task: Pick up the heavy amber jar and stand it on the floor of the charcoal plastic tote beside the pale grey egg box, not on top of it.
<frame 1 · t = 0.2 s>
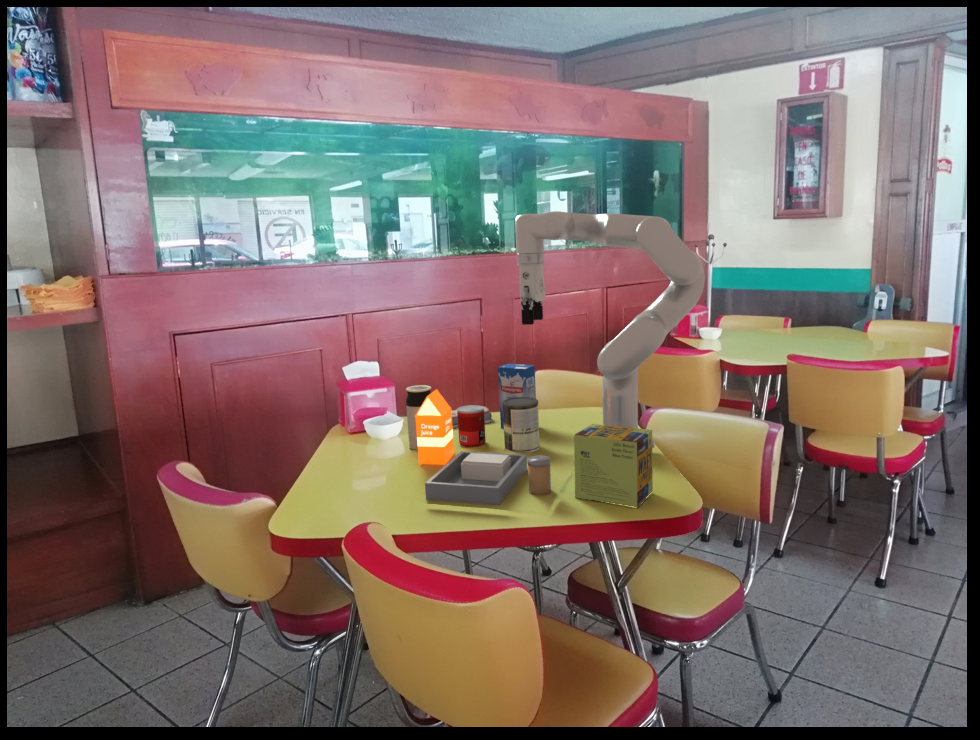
hand: (532, 322, 192), 37 cm above the table, tool pointing down, fingers open, 9 cm apart
coffee can: (522, 449, 199), on the table
travel mug: (422, 447, 206), on the table
canned food: (472, 444, 206), on the table
orange juice: (437, 463, 191), on the table
protein box: (614, 496, 160), on the table
egg box: (486, 475, 175), point 1 cm above the table, touching tote
tote: (479, 487, 170), on the table
milk carton: (518, 428, 221), on the table
packaged product: (464, 424, 230), on the table
amber jar: (540, 495, 163), on the table
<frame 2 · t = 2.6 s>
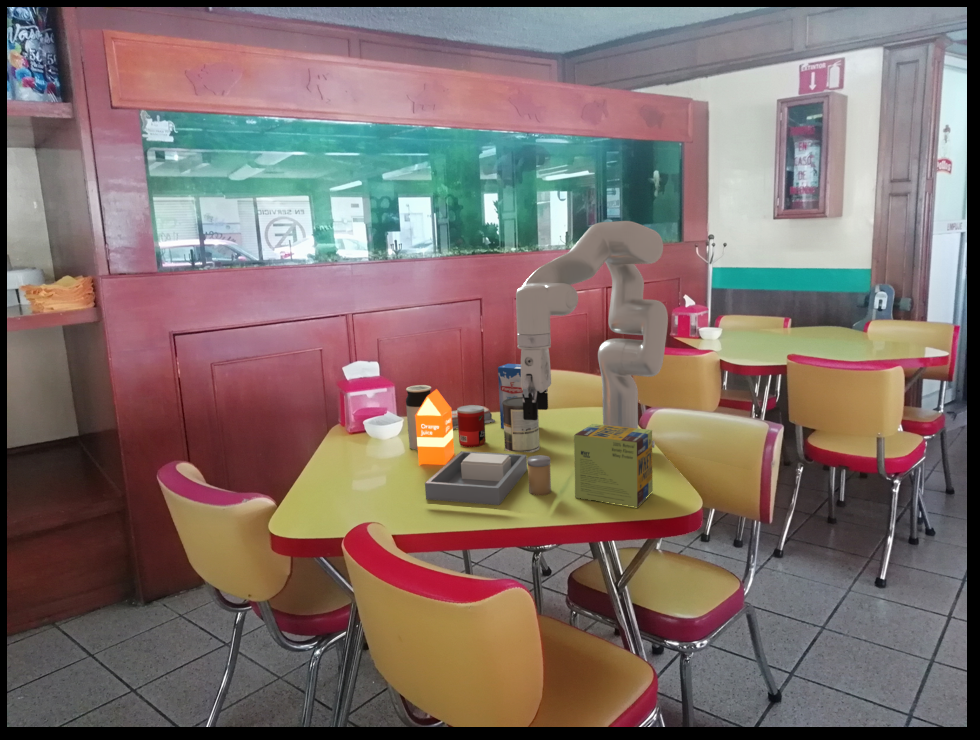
hand: (536, 414, 159), 20 cm above the table, tool pointing down, fingers open, 9 cm apart
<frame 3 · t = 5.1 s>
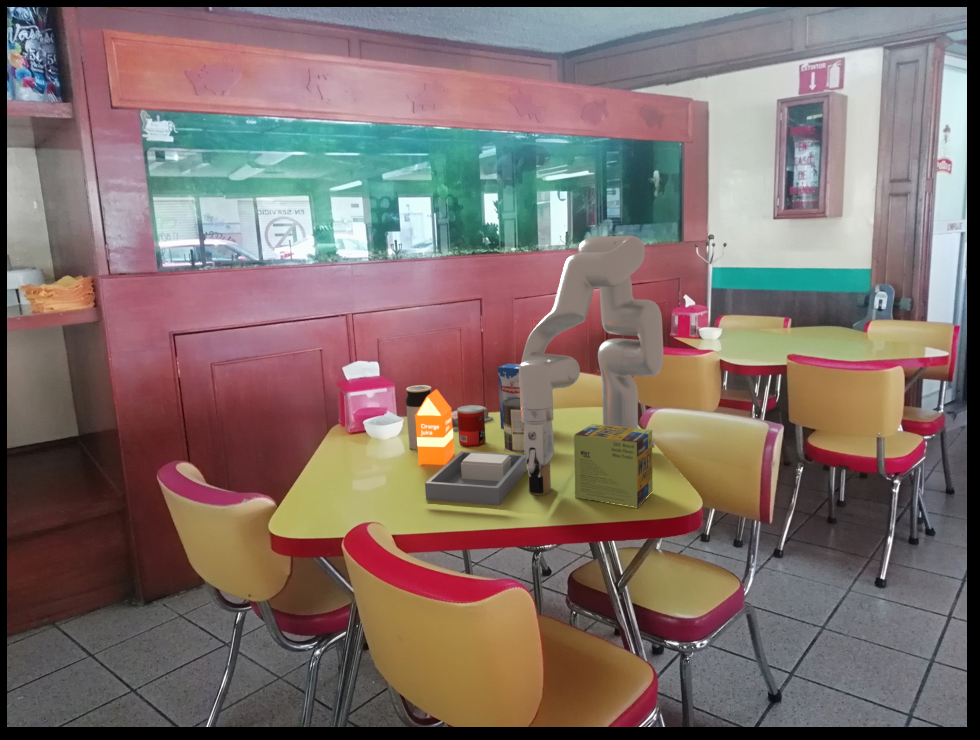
hand: (539, 487, 163), 2 cm above the table, tool pointing down, fingers closed on amber jar, 5 cm apart
amber jar: (540, 495, 163), on the table, touching gripper
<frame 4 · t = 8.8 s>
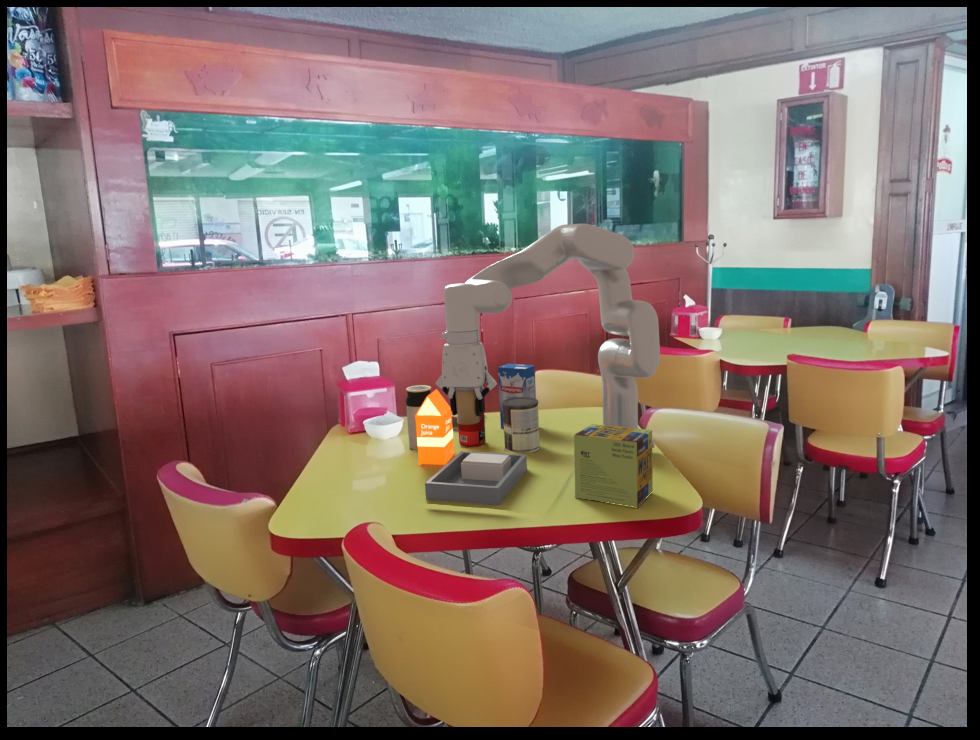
hand: (467, 413, 161), 20 cm above the table, tool pointing down, fingers closed on amber jar, 5 cm apart
amber jar: (468, 421, 162), point 18 cm above the table, touching gripper
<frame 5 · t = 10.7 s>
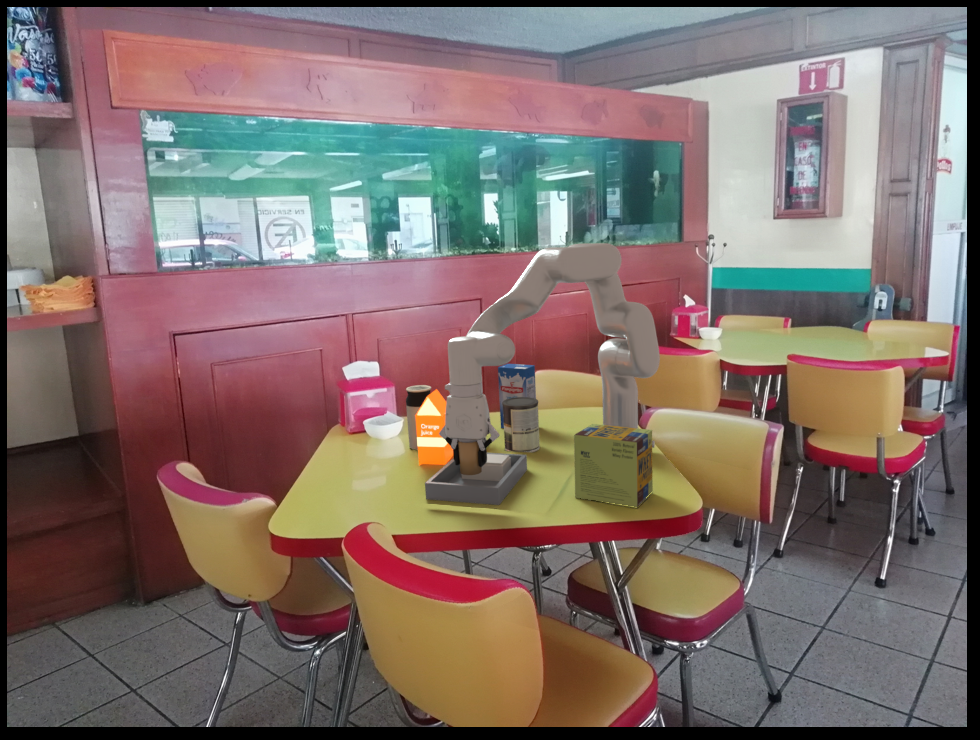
hand: (470, 463, 164), 8 cm above the table, tool pointing down, fingers closed on amber jar, 5 cm apart
amber jar: (471, 471, 164), point 6 cm above the table, touching gripper
when the fingers open (4 cm above the table, at t = 12.4 s): amber jar drops 1 cm, resting on tote.
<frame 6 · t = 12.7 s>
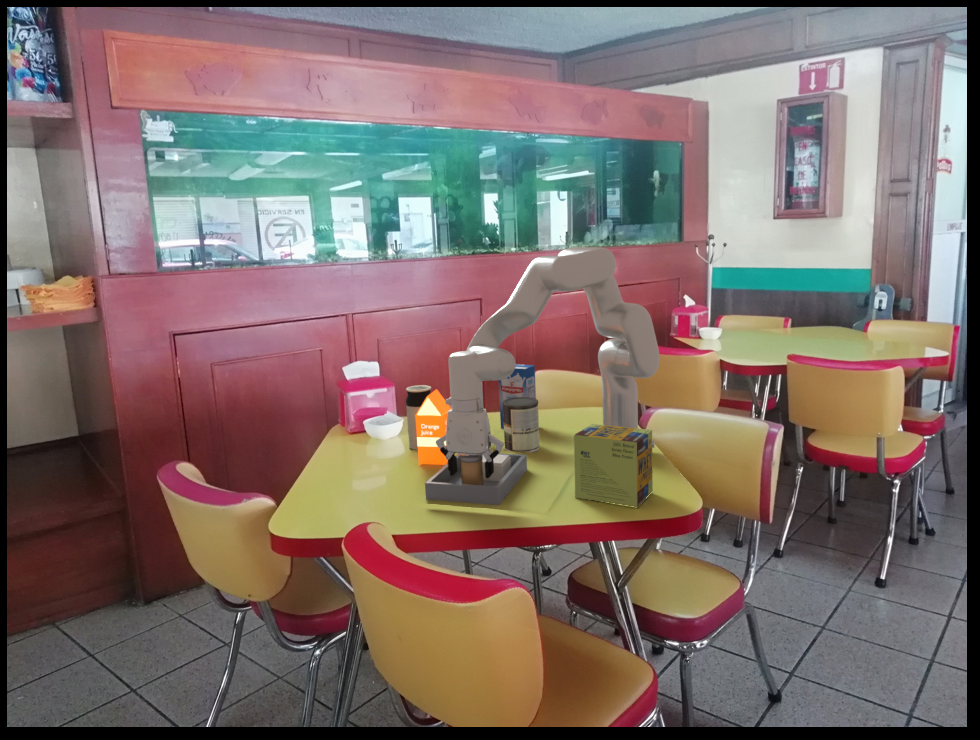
hand: (471, 474, 164), 5 cm above the table, tool pointing down, fingers open, 8 cm apart
amber jar: (473, 490, 165), point 1 cm above the table, touching tote
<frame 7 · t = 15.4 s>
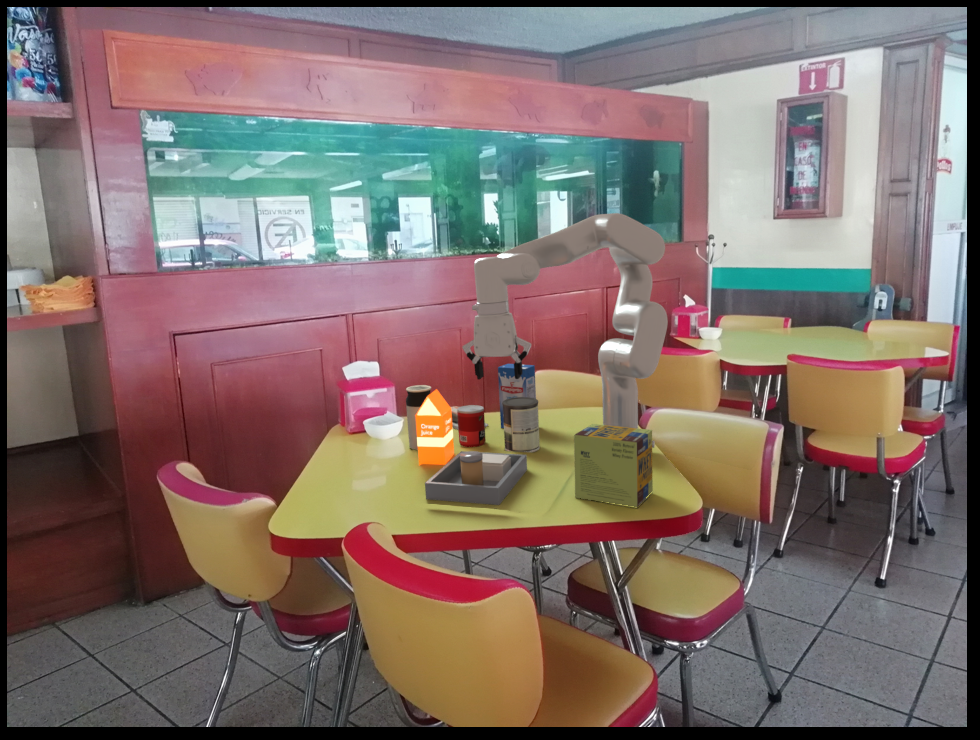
hand: (499, 378, 169), 26 cm above the table, tool pointing down, fingers open, 9 cm apart
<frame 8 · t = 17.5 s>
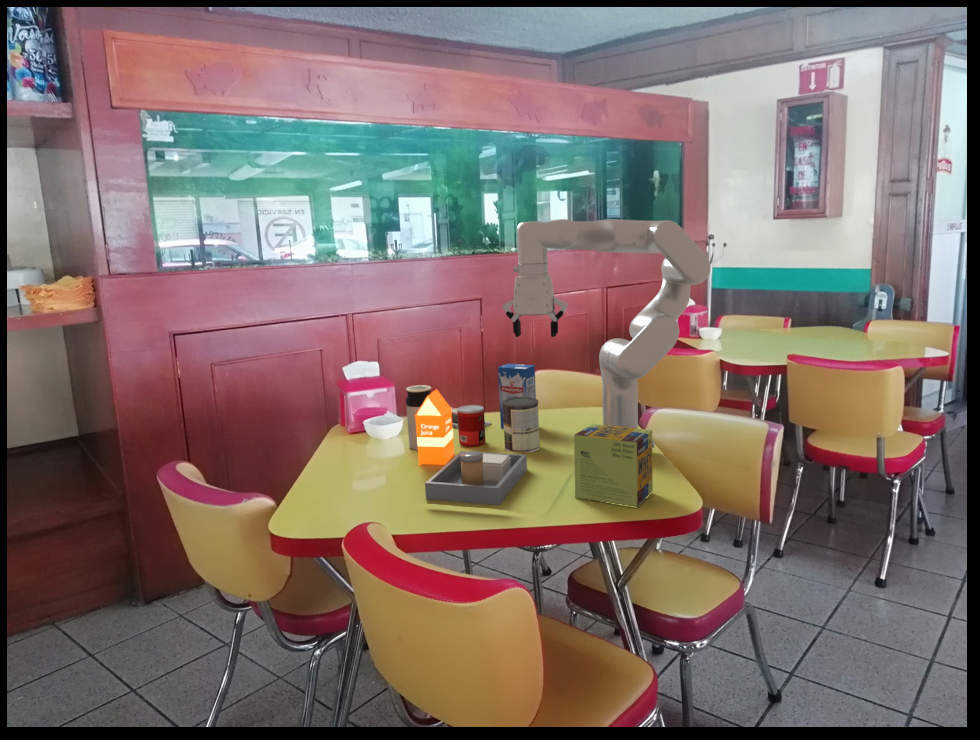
hand: (535, 336, 181), 34 cm above the table, tool pointing down, fingers open, 9 cm apart
at the end: amber jar inside the target area on the tote (0.7 cm from its centre), point 1.0 cm above the tote's base; amber jar tilted 1°; egg box moved 0.1 cm from its start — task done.
